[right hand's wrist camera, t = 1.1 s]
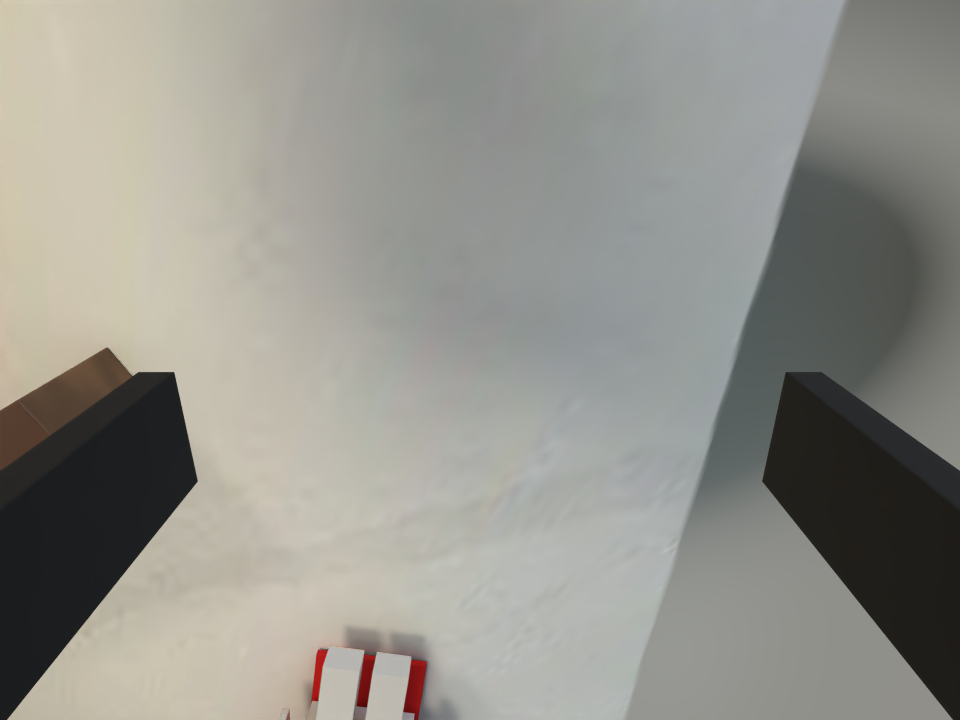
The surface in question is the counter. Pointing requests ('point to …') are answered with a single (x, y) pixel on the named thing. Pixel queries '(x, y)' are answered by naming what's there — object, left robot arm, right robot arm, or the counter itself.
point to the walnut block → (57, 404)
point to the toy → (365, 686)
